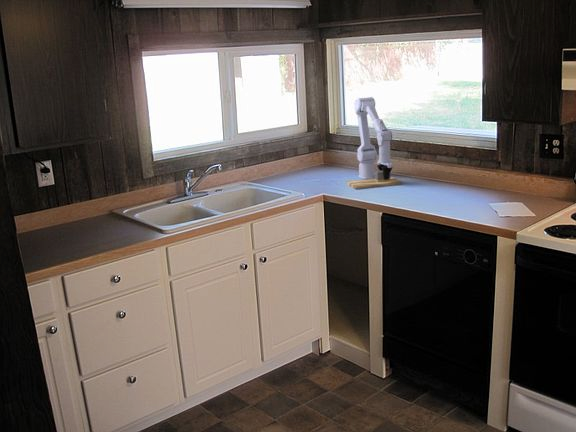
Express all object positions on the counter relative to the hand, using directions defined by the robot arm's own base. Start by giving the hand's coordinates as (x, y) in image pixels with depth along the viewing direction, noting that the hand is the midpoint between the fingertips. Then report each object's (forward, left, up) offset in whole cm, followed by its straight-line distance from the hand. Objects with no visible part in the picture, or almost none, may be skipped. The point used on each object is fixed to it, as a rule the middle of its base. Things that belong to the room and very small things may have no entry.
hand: (384, 178), depth 334 cm
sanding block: (0, -1, -1) cm, 2 cm away
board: (0, -6, -2) cm, 6 cm away
